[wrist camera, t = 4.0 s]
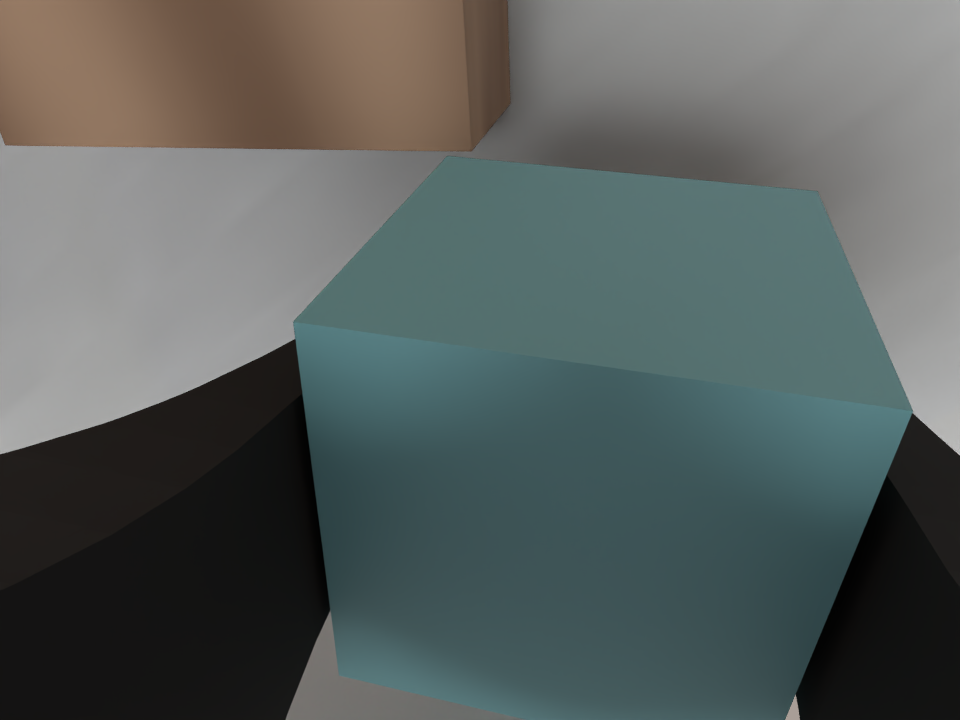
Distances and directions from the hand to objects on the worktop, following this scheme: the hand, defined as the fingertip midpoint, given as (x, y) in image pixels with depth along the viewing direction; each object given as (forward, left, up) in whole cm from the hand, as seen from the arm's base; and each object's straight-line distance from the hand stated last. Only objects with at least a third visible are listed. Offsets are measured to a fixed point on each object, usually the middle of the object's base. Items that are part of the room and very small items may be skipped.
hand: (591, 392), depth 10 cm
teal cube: (0, 0, -2) cm, 2 cm away
